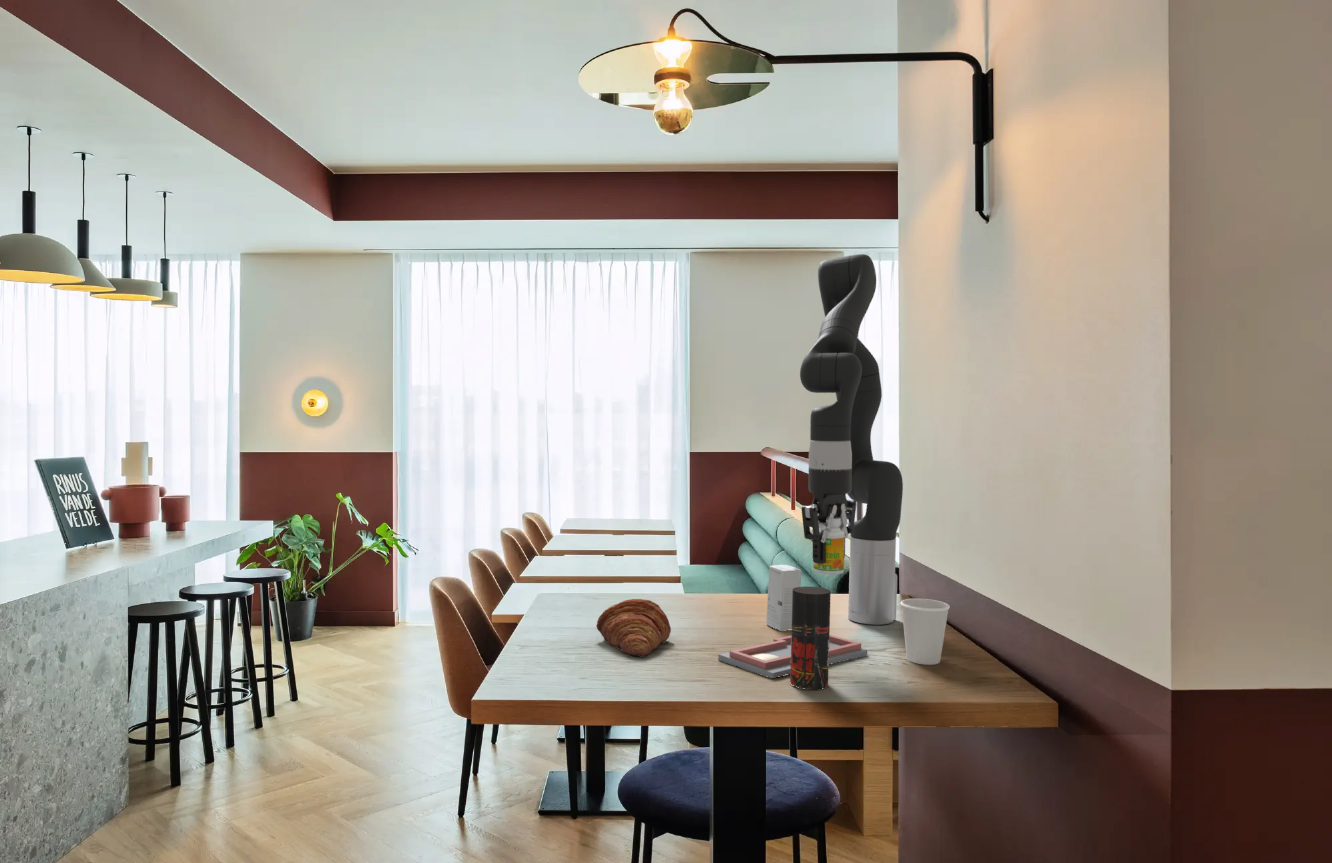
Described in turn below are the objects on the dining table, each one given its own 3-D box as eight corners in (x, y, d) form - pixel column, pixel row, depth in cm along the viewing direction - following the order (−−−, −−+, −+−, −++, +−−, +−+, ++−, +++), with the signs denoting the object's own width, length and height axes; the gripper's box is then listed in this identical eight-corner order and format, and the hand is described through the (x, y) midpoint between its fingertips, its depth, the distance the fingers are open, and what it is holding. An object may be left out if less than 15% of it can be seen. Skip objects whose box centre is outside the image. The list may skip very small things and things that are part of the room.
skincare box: (765, 624, 179) (766, 564, 178) (784, 623, 180) (786, 563, 180) (780, 632, 173) (782, 570, 173) (800, 630, 175) (802, 569, 174)
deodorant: (786, 678, 143) (788, 586, 143) (822, 678, 144) (825, 586, 143) (794, 690, 138) (797, 594, 137) (832, 690, 138) (835, 594, 138)
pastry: (697, 644, 164) (698, 601, 164) (639, 660, 153) (640, 614, 152) (632, 627, 175) (633, 587, 175) (573, 641, 164) (574, 598, 164)
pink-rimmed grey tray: (812, 639, 168) (812, 628, 168) (867, 655, 158) (867, 644, 158) (718, 660, 153) (718, 648, 153) (772, 679, 143) (773, 666, 143)
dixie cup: (947, 669, 151) (948, 610, 150) (896, 663, 153) (898, 605, 153) (949, 656, 158) (951, 600, 158) (901, 651, 161) (902, 596, 161)
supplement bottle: (814, 574, 155) (815, 519, 155) (812, 568, 160) (812, 515, 160) (845, 575, 155) (846, 519, 154) (842, 569, 160) (842, 515, 160)
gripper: (824, 469, 149) (823, 569, 150) (870, 464, 159) (869, 558, 160) (788, 467, 154) (787, 563, 155) (835, 462, 165) (834, 553, 165)
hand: (829, 560), depth 158 cm, fingers closed on supplement bottle, 5 cm apart
